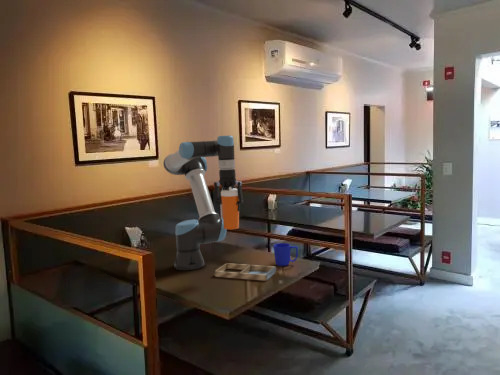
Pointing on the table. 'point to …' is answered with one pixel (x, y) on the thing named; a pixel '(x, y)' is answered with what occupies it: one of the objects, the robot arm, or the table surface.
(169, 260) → the table surface
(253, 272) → the caddy
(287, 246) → the mug
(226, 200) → the shaker bottle
